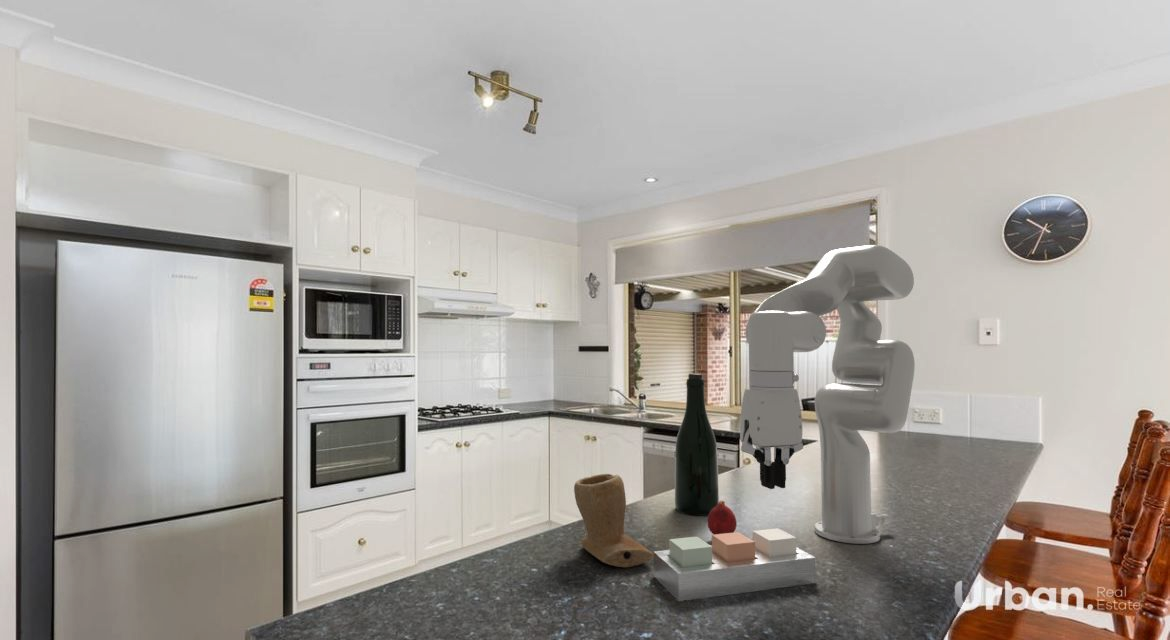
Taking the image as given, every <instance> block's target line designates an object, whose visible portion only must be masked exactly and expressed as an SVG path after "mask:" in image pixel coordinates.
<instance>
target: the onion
mask: <svg viewBox="0 0 1170 640" xmlns="http://www.w3.org/2000/svg"><path fill="white" fill-rule="evenodd" d="M707 528H708V529H709V531H710V532H711V535H715V534H725V533H735V531H736V529H737V519H736V516H735V513H734V512H733V510H732V509H731V508H730V507H728V506H727V505H726V503H725V501H724V500H719V504H718V505H717V506H716V507H714V508H713V509H712V510H711V511H710V513H709V515H707Z"/></svg>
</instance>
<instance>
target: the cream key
mask: <svg viewBox="0 0 1170 640" xmlns="http://www.w3.org/2000/svg"><path fill="white" fill-rule="evenodd" d="M752 540H753V541H754V542H755V549H756V550H757V551H759V552H761V553H762V554H764V555H766V556H767V557H769V558H771V557H780V556H788V555H797V553H796V547H797V536H796V537H795V536H794V535H792V534H790V533H788V532H786V531H785V530H782V529H780V528H777V527H776V528H769V529H760V530H759V529H758V530H752Z"/></svg>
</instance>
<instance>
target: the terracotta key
mask: <svg viewBox="0 0 1170 640" xmlns="http://www.w3.org/2000/svg"><path fill="white" fill-rule="evenodd" d="M711 545H712V553H714V554H715V555H716V556H718V557H719V558H721V559H722V560H723V561H725V562H726V563H729V562H737V561H746V560H754V559H755V542H754V541H753V539H751V538H749V537H747V536H746V535H744V534H742V533H741V532H739V531H737V532H735V531H734V533H725V534H715V535H713V534H711Z"/></svg>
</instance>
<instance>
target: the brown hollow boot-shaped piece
mask: <svg viewBox="0 0 1170 640" xmlns="http://www.w3.org/2000/svg"><path fill="white" fill-rule="evenodd" d="M573 493H574V498H575V504H576V506H577V508H578V511H579V513H580V515H581V517H582V520H583V523H584V526H585V529H586V531H587V532H586V533H587V536H586V537H584V538H582V539H581V545H582V547H583V548H584V550H586V551H587V552H588V553H589V554H590V555H592V556H593V557H595V558H596V559H597V560H599V561H600V562H602V563H604V564H607V565H609V566H614V567H618V568H631V567H635V566H639V565H642V564H645V563H647V562H650V560H652V559H654V555H653V552H652V551H651V550H649V549H648V548H646V547H645V546H644V545H642V544H641V543H639V542H638V541H636V540H634V539H633V538H632V537H630V536H629V535H626V533H625V525H624V524H625V517H626V516H625V515H626V506H627V501H626V499H627V498H626V491H625V484H624V480H623V478H622V477H621V476H620V475H619V474H615V475H613V474H612V473H603V474H602V473H601V474H595V475H592V476H586V477H582V478H579V479H578V480H577V481H575V483H574V487H573Z"/></svg>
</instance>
